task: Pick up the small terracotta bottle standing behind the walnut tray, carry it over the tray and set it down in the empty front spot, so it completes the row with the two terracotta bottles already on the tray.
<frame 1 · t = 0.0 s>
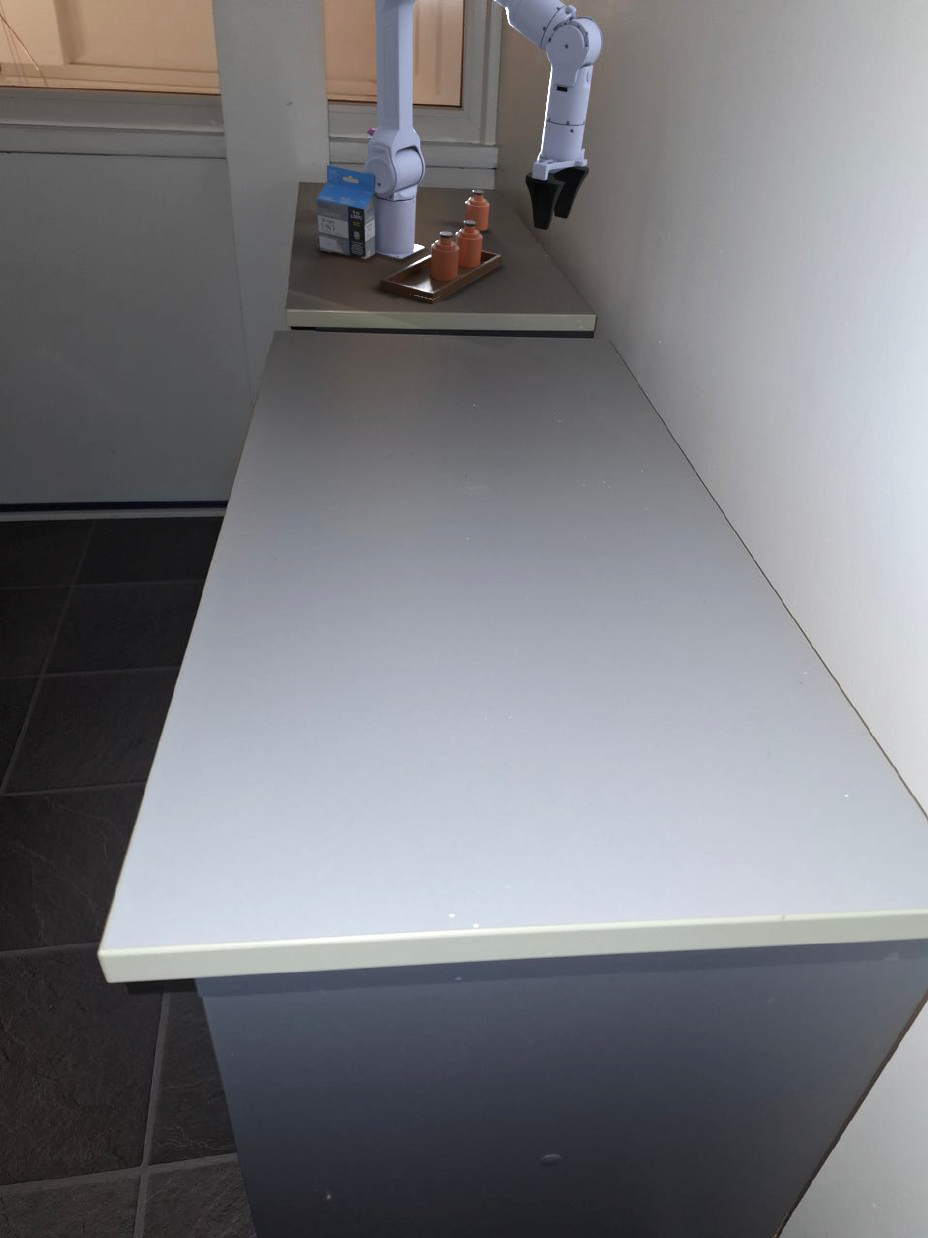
hand: (551, 222, 130), 10 cm above the table, tool pointing down, fingers open, 7 cm apart
ink cartridge box: (347, 253, 143), on the table, touching arm
bottle middle: (443, 276, 136), resting on tray
loose bottle: (475, 229, 158), on the table
tray: (443, 279, 137), on the table
perfume bottle: (377, 225, 155), on the table
bottle back: (467, 263, 142), resting on tray
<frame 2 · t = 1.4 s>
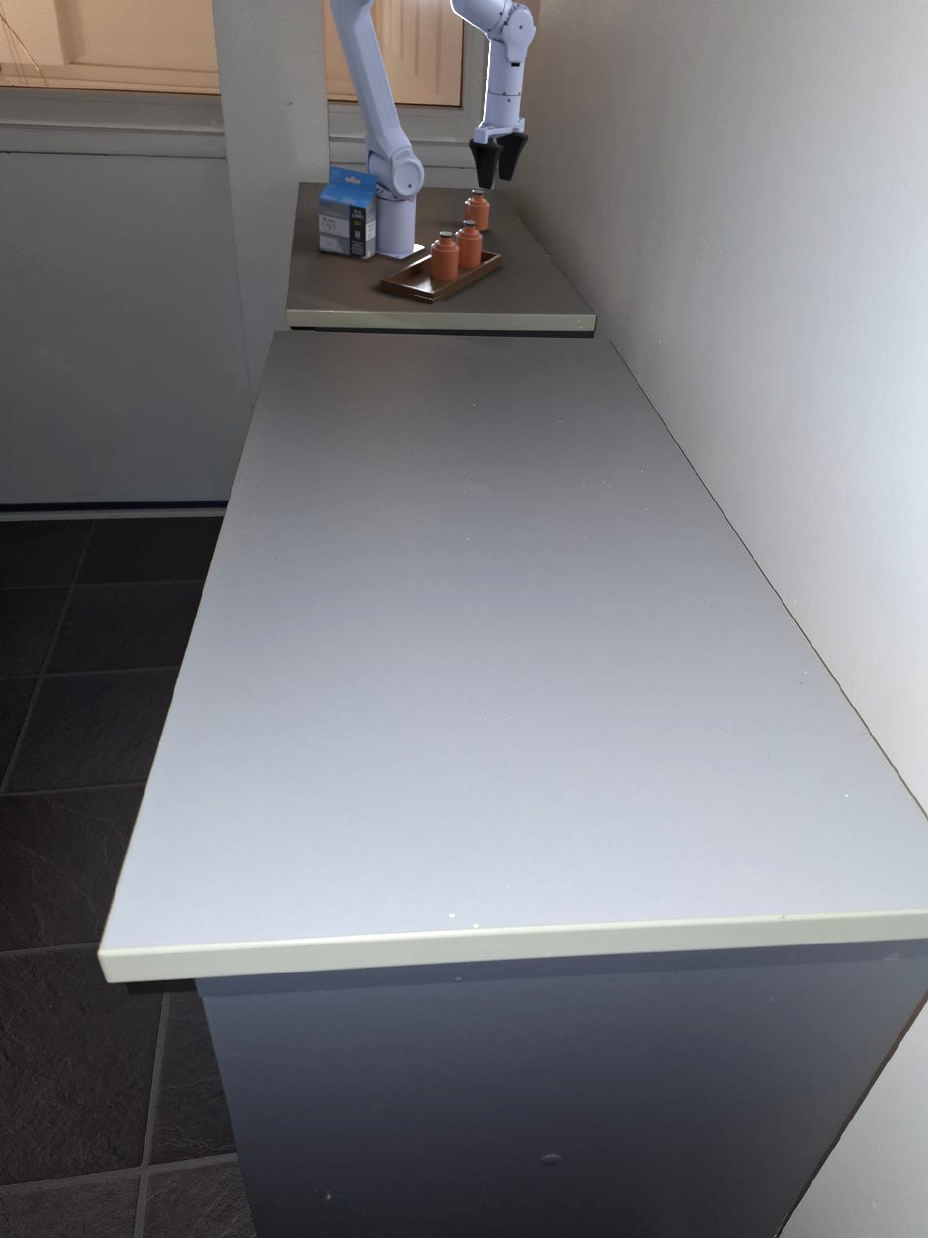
hand: (495, 183, 147), 10 cm above the table, tool pointing down, fingers open, 7 cm apart
ink cartridge box: (347, 254, 143), on the table
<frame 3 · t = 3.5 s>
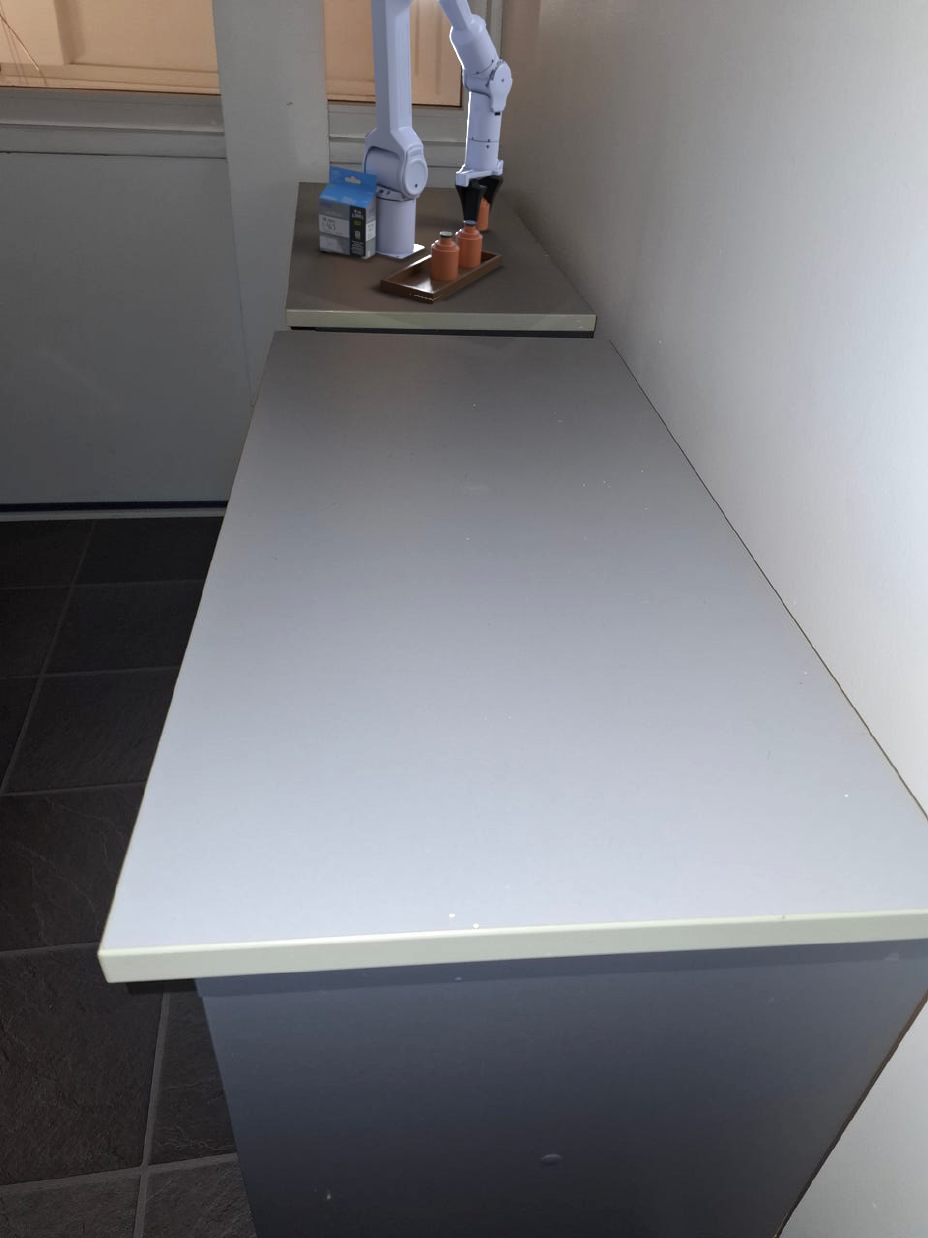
hand: (476, 221, 158), 1 cm above the table, tool pointing down, fingers closed on loose bottle, 4 cm apart
loose bottle: (475, 229, 158), on the table, touching gripper
everything else where it was.
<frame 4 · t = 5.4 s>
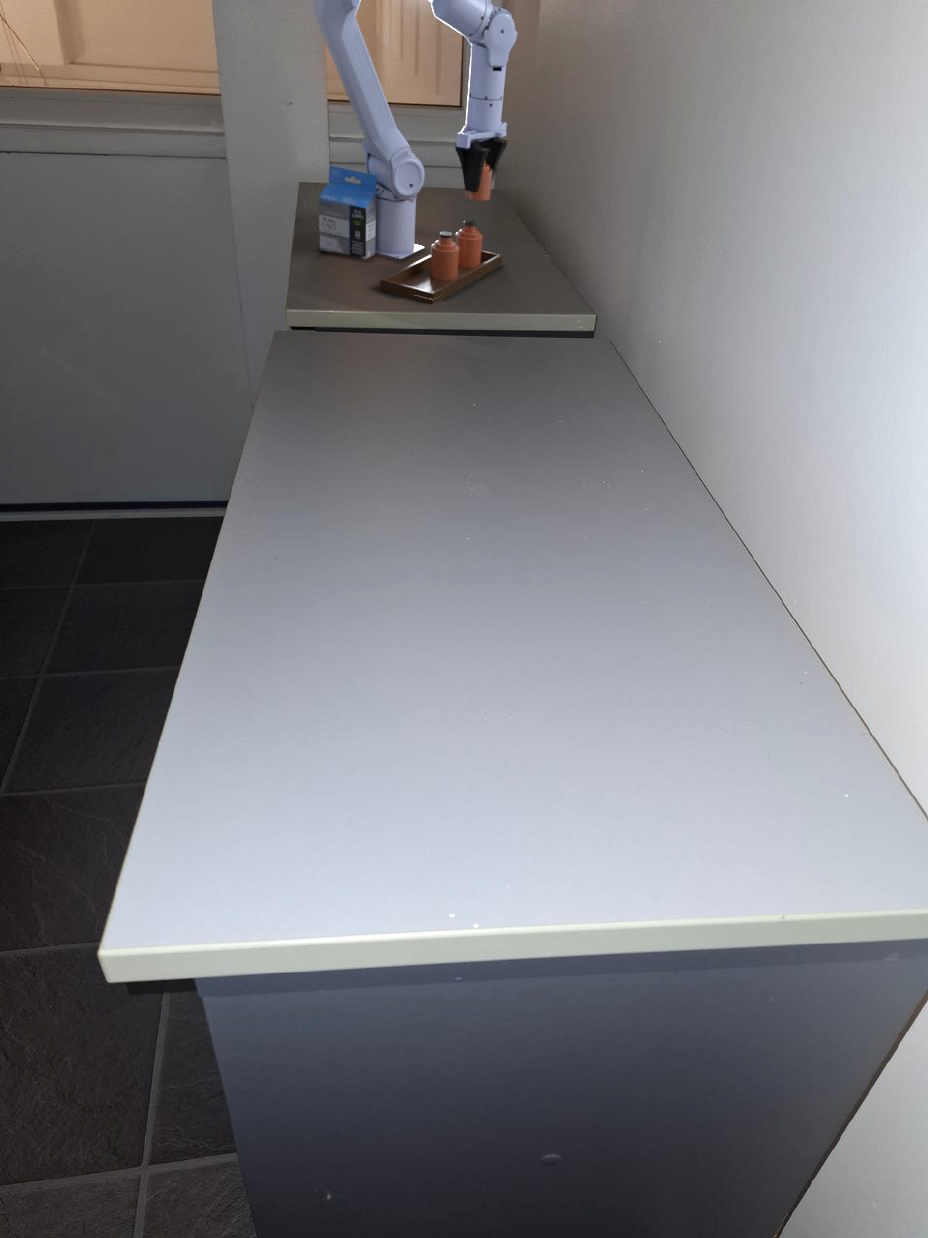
hand: (477, 188, 146), 9 cm above the table, tool pointing down, fingers closed on loose bottle, 4 cm apart
loose bottle: (477, 197, 147), point 8 cm above the table, touching gripper
everything else where it was.
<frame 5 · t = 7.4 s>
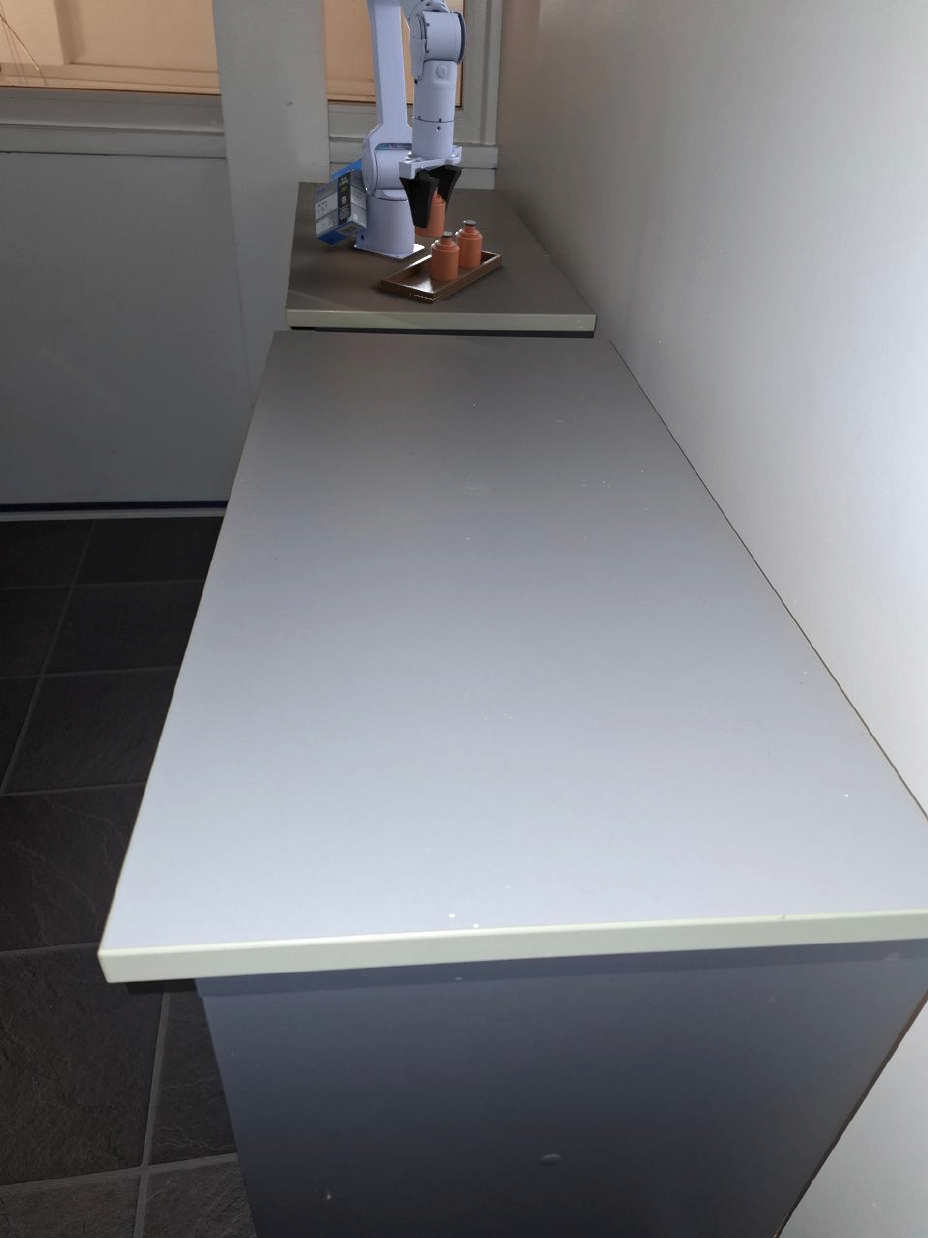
hand: (428, 222, 126), 10 cm above the table, tool pointing down, fingers closed on loose bottle, 4 cm apart
ink cartridge box: (341, 235, 141), point 3 cm above the table, touching arm
loose bottle: (429, 232, 127), point 8 cm above the table, touching gripper
everything else where it was.
when the fingers open (2 cm above the table, at t = 10.3 s): loose bottle stays where it is, resting on tray.
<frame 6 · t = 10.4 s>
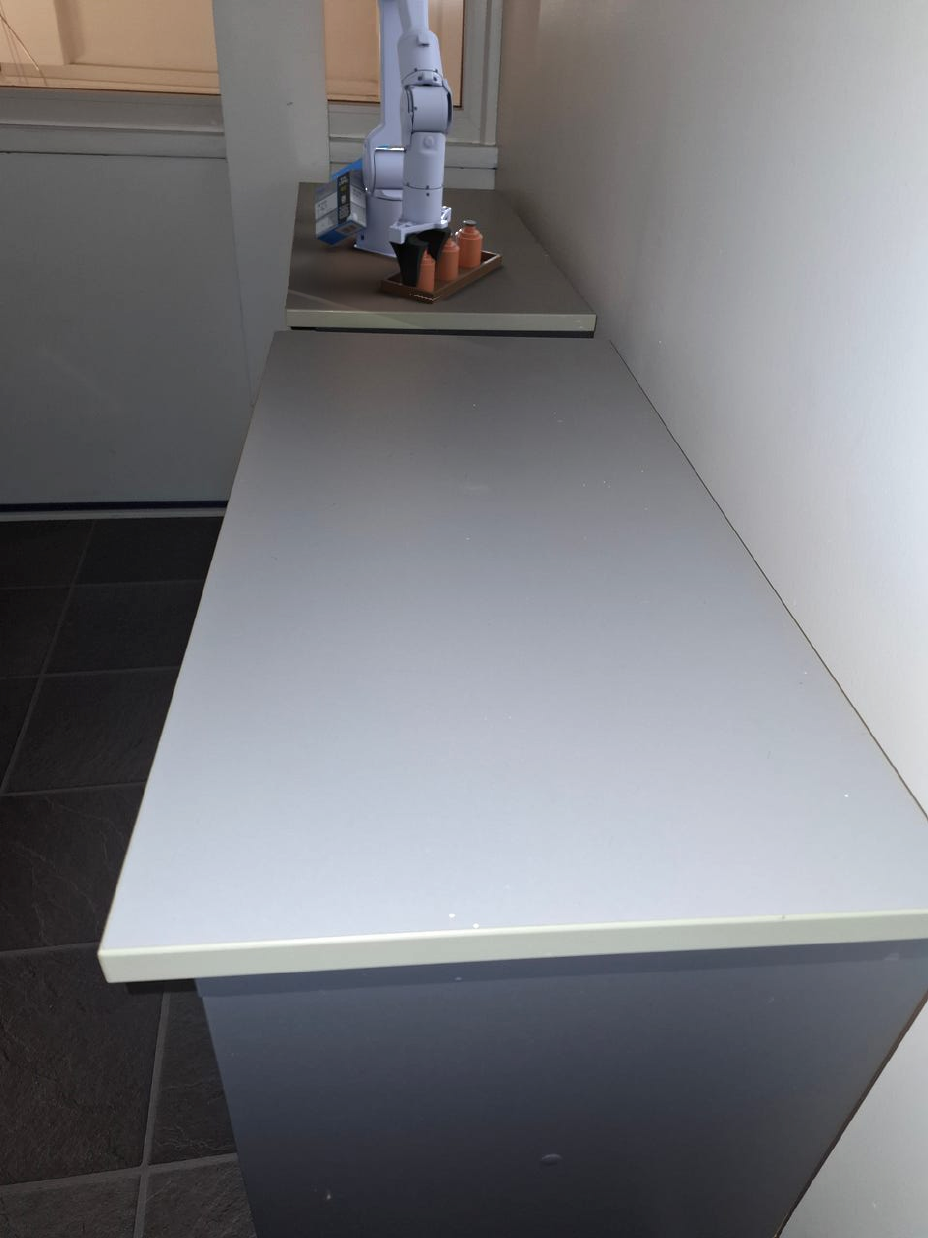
hand: (418, 281, 130), 2 cm above the table, tool pointing down, fingers open, 5 cm apart
loose bottle: (419, 290, 131), resting on tray
everything else where it was.
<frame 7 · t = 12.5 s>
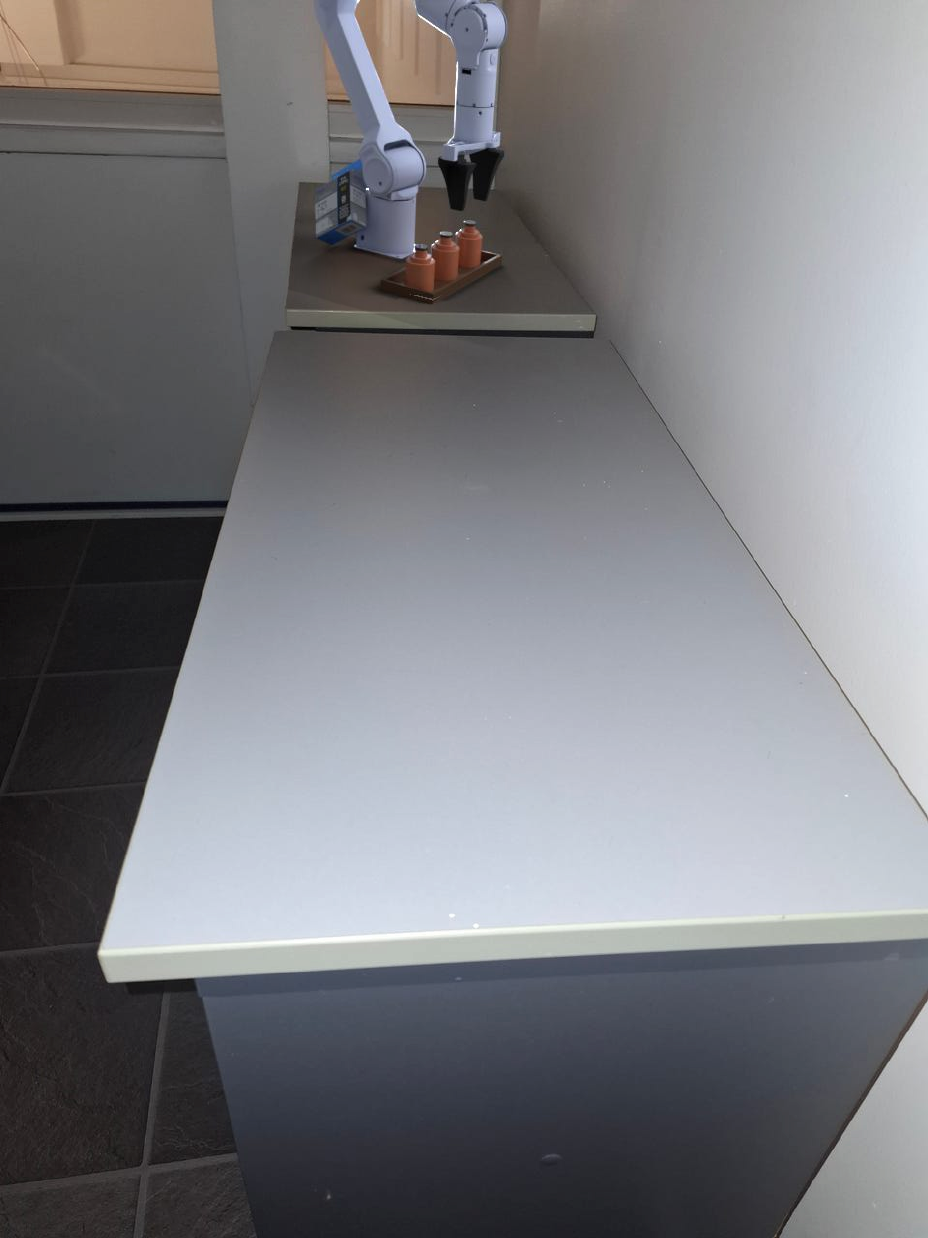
hand: (469, 204, 133), 10 cm above the table, tool pointing down, fingers open, 7 cm apart
nothing on the table moved.
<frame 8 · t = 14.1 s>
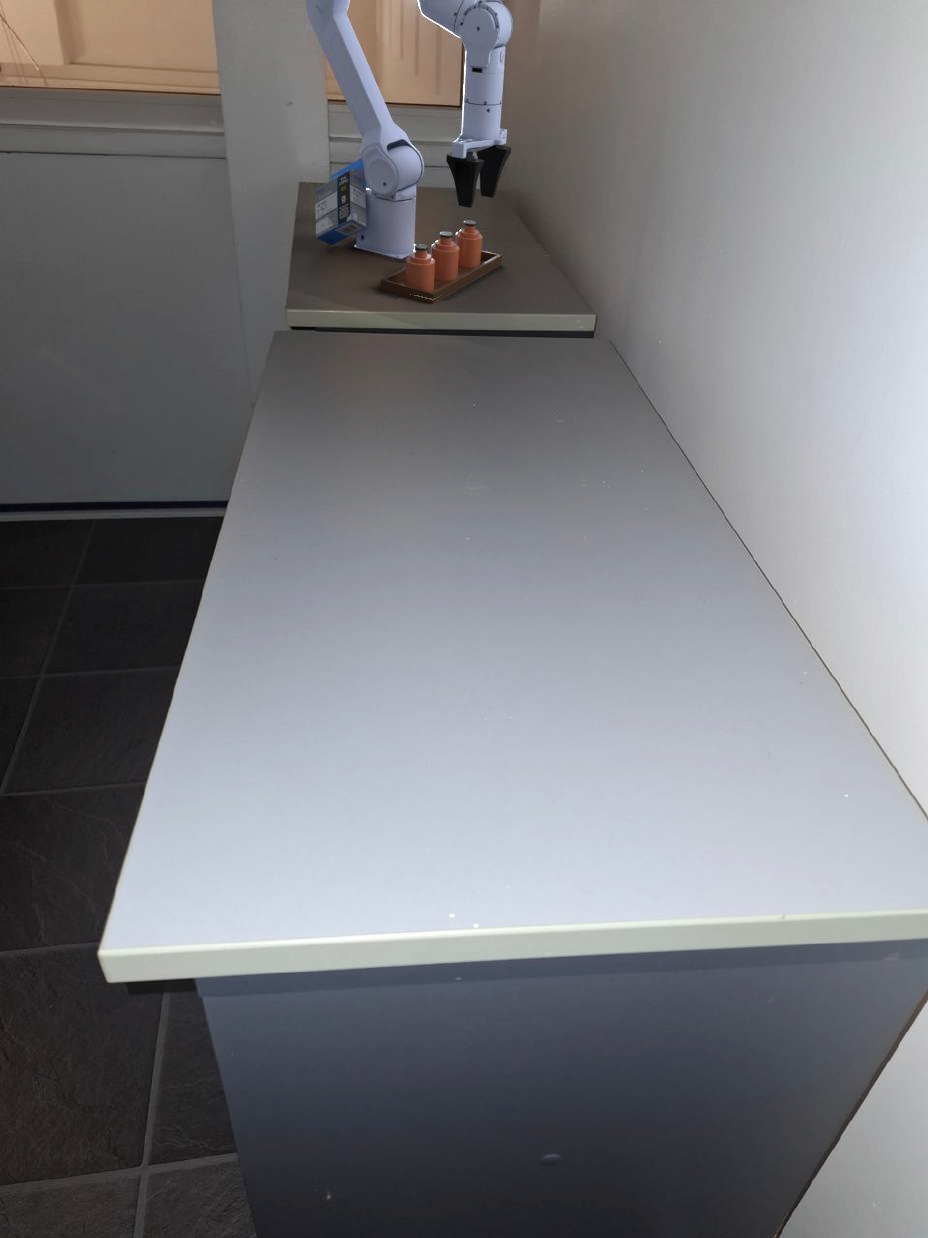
hand: (476, 201, 135), 10 cm above the table, tool pointing down, fingers open, 7 cm apart
nothing on the table moved.
at the end: loose bottle 0.2 cm from the target spot in the tray, point 0.5 cm above the tray's base; loose bottle tilted 0°; bottle middle moved 0.0 cm from its start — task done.
